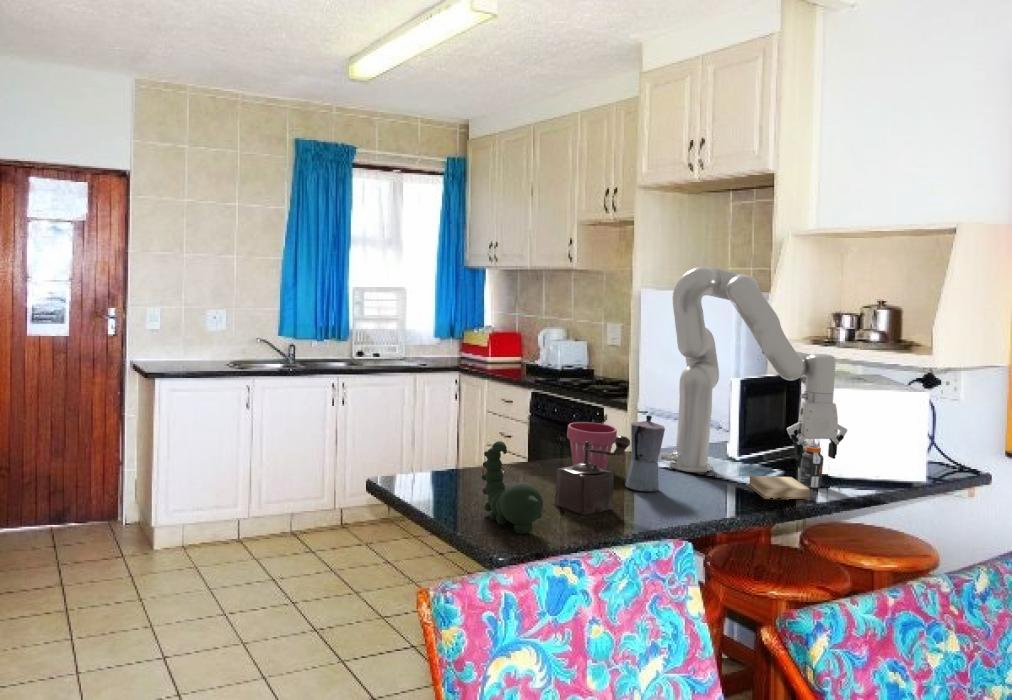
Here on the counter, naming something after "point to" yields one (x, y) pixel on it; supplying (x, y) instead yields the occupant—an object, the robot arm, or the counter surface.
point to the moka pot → (645, 455)
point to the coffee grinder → (587, 483)
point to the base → (778, 487)
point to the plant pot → (591, 441)
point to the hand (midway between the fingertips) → (815, 457)
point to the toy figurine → (509, 495)
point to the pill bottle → (811, 467)
